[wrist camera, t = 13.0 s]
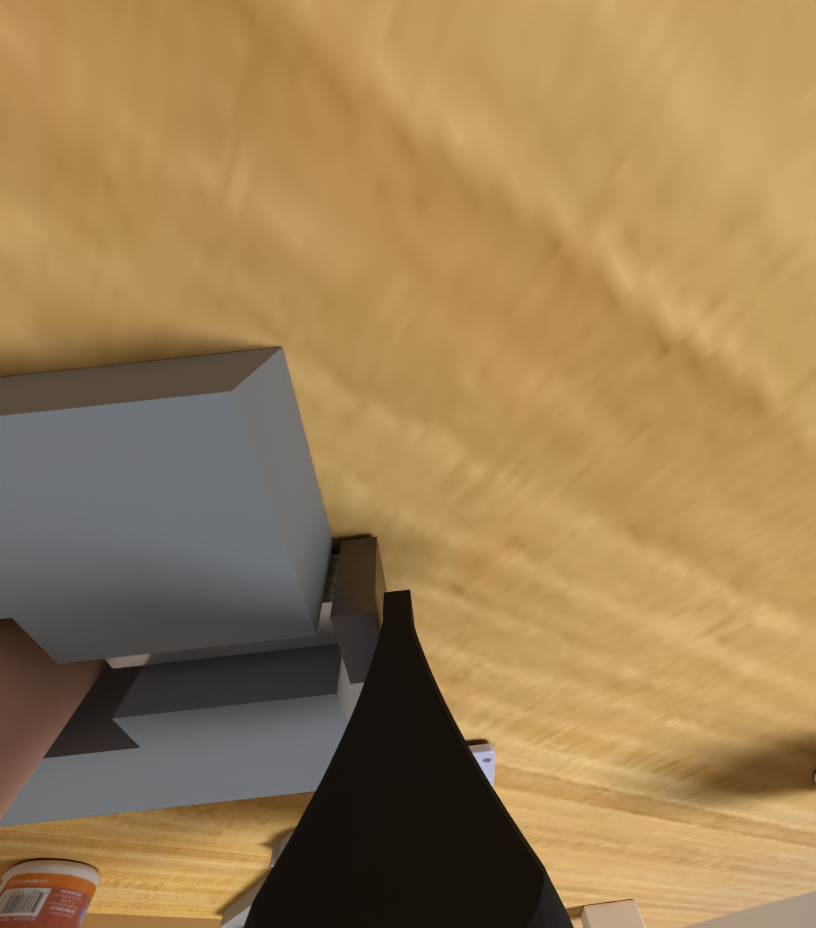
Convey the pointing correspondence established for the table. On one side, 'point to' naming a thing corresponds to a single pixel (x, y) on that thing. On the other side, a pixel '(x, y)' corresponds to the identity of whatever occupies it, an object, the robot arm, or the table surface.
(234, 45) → the table surface
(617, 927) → the milk
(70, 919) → the pill bottle
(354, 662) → the lock pin
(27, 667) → the peg
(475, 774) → the robot arm
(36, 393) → the mount board
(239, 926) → the adjustable wrench
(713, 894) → the table surface
